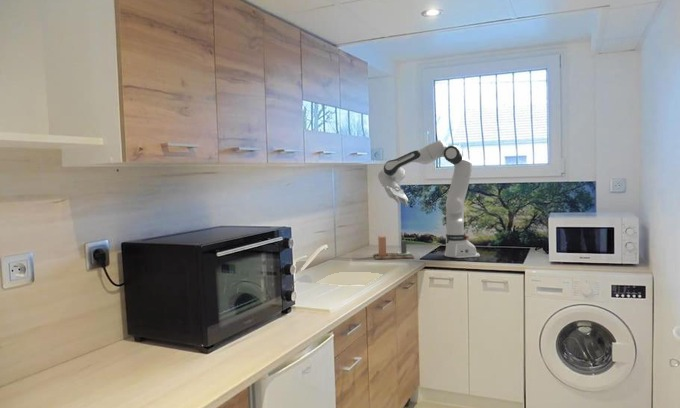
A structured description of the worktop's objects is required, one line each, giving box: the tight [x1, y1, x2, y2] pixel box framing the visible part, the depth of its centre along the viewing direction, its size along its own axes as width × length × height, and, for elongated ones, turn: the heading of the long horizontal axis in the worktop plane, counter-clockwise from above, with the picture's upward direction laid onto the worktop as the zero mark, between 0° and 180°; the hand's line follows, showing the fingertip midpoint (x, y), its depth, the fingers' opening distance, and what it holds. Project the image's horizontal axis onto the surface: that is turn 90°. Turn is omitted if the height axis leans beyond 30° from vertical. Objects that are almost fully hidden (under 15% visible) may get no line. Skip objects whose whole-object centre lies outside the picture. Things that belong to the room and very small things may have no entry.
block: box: [377, 235, 387, 256], centre depth 329 cm, size 4×4×13 cm
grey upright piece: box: [396, 239, 412, 255], centre depth 329 cm, size 8×8×9 cm
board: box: [373, 252, 415, 261], centre depth 327 cm, size 24×18×2 cm
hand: (402, 204), depth 331 cm, fingers open, 8 cm apart
